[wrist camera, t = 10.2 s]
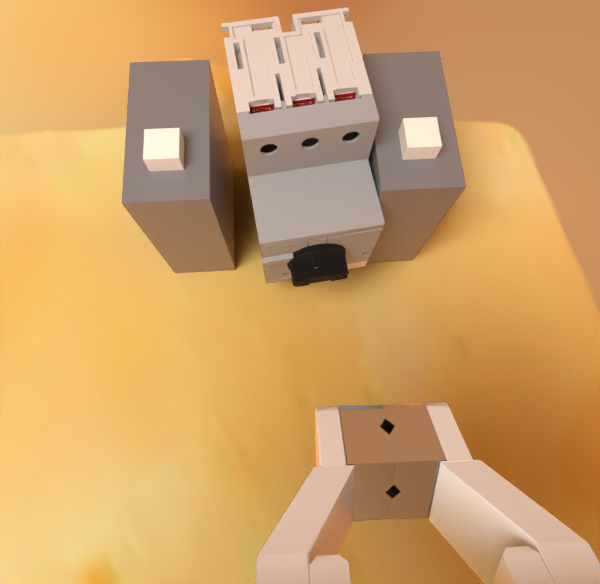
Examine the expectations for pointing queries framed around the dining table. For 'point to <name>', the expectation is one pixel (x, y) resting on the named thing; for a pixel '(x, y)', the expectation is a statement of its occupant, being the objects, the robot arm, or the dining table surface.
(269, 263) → the circuit breaker
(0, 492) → the dining table surface
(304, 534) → the robot arm
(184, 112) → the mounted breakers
